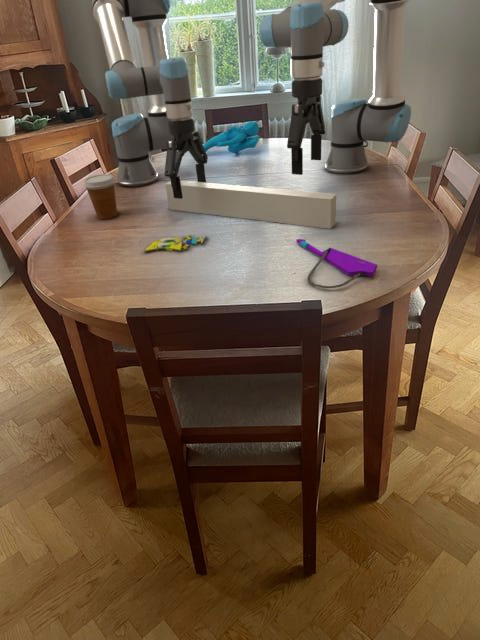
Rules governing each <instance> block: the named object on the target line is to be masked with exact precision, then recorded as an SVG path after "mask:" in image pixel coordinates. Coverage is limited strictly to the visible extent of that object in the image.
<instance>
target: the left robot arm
mask: <svg viewBox="0 0 480 640" xmlns="http://www.w3.org/2000/svg"><path fill="white" fill-rule="evenodd" d="M91 10H92V11H91V12H92V15H93V18H94V20H95V22H96V23H97V24H98V26H99V30H100V34H101V38H102V42H103V46H104V50H105V55H106V59H107V63H108V67H109V70H107V71H105V73H104V77H105V82H106V83H105V84H106V87H107V91H108V96H109V98H110V99H112V100H127V99H132V98H140V97H147V96H148V97H149V102H150V106H149V108H148V110H147V116H146V117H145V116H143V114H142V113H138V112H137V113H130V114H127V115H124V116H120V117H119V118H116V119H114V120H113V121H112V122H111V131H112V137H113V141H114V145H115V151H116V155H117V160H118V167H117V168H118V170H117V183H118V186H120V187H123V188H124V187H125V188H136V187H137V188H138V187H145V186H147V185H148V186H149V185H151V184H154V183H156V182H157V181H158V180H159V176H158V172H157V169H156V168H155V166H154V163H153V161H152V160H153V155H151V154H150V152H152V151H159V150H165V149H166V157H165V165H164V177H166V178H169V180H170V181H171V186H172V189H173V195H174V198H179V199H182V198H183V196H182V189H181V183H180V180H181V177H180V175H179V171H180V167H181V164H182V160H183V157H185V154H186V153H189V154H190V155H191V156H192V158H193V159H194V161H195V162H196V163H195V173H196V180H197V181H196V182H205V183H207V178H206V168H205V164H207V163H208V159H209V157H208V155H207V151H206V152H205V149H204V147H203V145H204V144H203V143H202V141H201V140H202V139H201V137H200V136H201V135H200V131H196V126H195V119H194V118H193V116H194V112H193V105H192V94H191V88H190V86H191V85H190V78H189V69H188V64H187V60H186V58H185V57H183V56H180V57H179V56H176V57H169V55H168V49H167V43H166V35H165V34H166V33H165V29H164V28H165V27H164V26H165V24H166V23H167V21H168V17H167V15H169V14H170V13H171V2H170V0H91ZM125 18H131V23H132V25H133V26H134V27H136V28H137V30H138V37H139V43H140V50H141V55H142V60H143V66H141V67H137V66H136V62H135V59H134V55H133V52H132V51H133V50H132V48H131V44H130V41H129V37H128V34H127V33H128V32H127V29H126V26H125V22H124V19H125Z"/></svg>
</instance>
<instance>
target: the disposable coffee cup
mask: <svg viewBox="0 0 480 640" xmlns="http://www.w3.org/2000/svg"><path fill="white" fill-rule="evenodd" d="M115 184H116V179H115V178H114V176H113V174H110V173H109V174H107V173H100V174H94V175H91V176H90V175H89V176H88V177H86V178H85V179H84V183H83V186H84V187H85V189H86V191H87V194H88V196H89V199H90V200H91V204H92V206H93V209H94V212H95V214H96V217H97V218H98V219H99V220H100V219H101V220H106V219H112V218H115V217H116V216H118V208H117V197H116V187H115Z"/></svg>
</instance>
